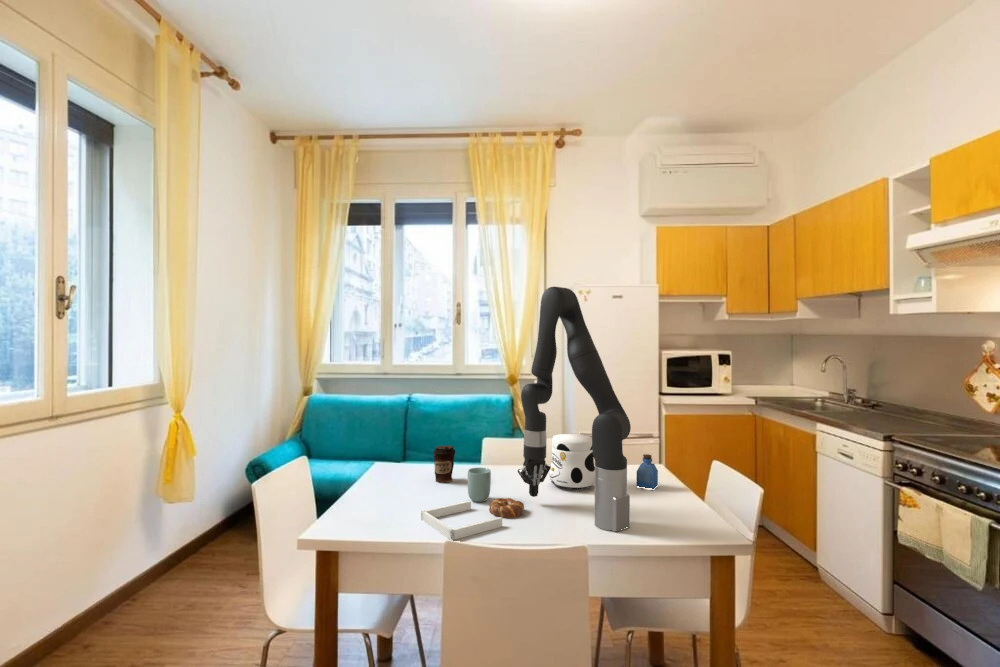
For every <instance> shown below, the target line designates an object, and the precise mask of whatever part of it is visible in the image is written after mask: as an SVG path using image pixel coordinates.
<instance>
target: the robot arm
mask: <svg viewBox="0 0 1000 667" xmlns="http://www.w3.org/2000/svg"><path fill="white" fill-rule="evenodd" d="M539 308H540V309H539V319H538V320H539V321H538V322H539V323H538V332H537V341H536V346H535V347H536V348H535V352H534V357H533V362H532V365H531V371H530V372H531V374H532V376H534V377H536V382H534V383H526V384H525V385H523V387H522V390H521V392H520V400H521V405H522V409H523V413H524V434H523V452H522V453H523V459H524V461H523V463H522V464H523V465H522V467H521V468H518V470H517V473H518V474H519V476H520V478H521V479H522V481H523V483H525V484H526V485H528V487H529V488H528V489H529V490H528V494H529V496H530V497H533V498H534V497H535V498H536V497H538V495H539V488H540V487H539V485H540V484H541V483H543V482H545V479H546V477H547V475H548V474H549V470H550V468H551V467H550V465H548V464H547V463H546V458H547V441H548V440H547V439H548V437H547V415H546V413H545V412H542V411H540V408H539V405H544V404H547V403H548V402H549V401H550V400H551V398H552V395H553V372H554V369H555V368H554V367H555V364H556V359H557V355H558V354H557V352H558V351H557V350H558V348H557V342H556V341H557V340H556V339H557V338H556V329H557V324H558V321H559V319H560V321H561V322H562V326H563V327H564V330H565V333H566V350H567V351H566V352H567V357H568V361H569V362H568V363H570V366H571V369H572V371H573V374H574V376H575V378H576V379H577V381H578V382H579V383H580V385H581V386H582V388H584V390H585V391H586V392H587V394H588V395H589V396H590V398H591V399H592V401H593V402H594V405H595V407H596V409H597V411H598V412H597V413H598V414H597V415H596V417H595V418H594V420H593V421H592V425H591V426H592V428H591V437H592V451H593V456H594V466H595V483H594V525H595V526H596V527H597V528H598V529H601V530H605V531H610V530H612V532H614V531H618V532H620V531H619V530H621V529H624V528H626V527H629V526H630V525H631V524H630V523H631V522H630V520H631V519H630V518H631V514H630V513H631V511H630V510H631V508H630V507H631V505H630V502H631V496H630V493H629V494H628V492H627V491H628V459H627V457H626V456H625V454H624V453H623V441H624V440H626V439H627V438H628V437H629V435H630V434H631V429H632V428H631V427H632V426H631V422H630V419H629V417H628V414H627V413H626V411H625V409H624V408H623V406H622V404H621V402H620V400H619V399H618V397H617V394H616V393H615V391H614V388H613V385H612V384H611V381H610V378H609V376H608V374H607V371H606V369H605V366H604V363H603V360H602V357H601V356H600V354H599V351H598V350H597V348H596V344H595V343H594V340H593V338H592V336H591V332H590V330H589V329H588V326H587V324H586V320H585V318H584V315H583V312H582V308H581V306H580V302H579V300H578V297H577V295H576V293H575V292H574V291H573V290H572V289H570V288H567V287H561V286H550V287H547V288H546V289H545V290H544V291H543V293H542V296H541V299H540V307H539ZM629 528H630V527H629ZM624 530H625V529H624ZM621 531H622V530H621Z"/></svg>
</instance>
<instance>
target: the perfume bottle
mask: <svg viewBox="0 0 1000 667" xmlns="http://www.w3.org/2000/svg"><path fill="white" fill-rule="evenodd" d="M642 456H643V457H642V463H640V464H639V466H638V468H637V470H636V485H635V486H639V487H645V488H652V489H654V488H655V487H656V486H657V485H659V479H658V478H659V471H658V468H657V467H656V464H655V463H653V458H652V456H653V455H652V454H648V453H647V454H645V453H644V454H643V455H642Z"/></svg>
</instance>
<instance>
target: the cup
mask: <svg viewBox="0 0 1000 667" xmlns="http://www.w3.org/2000/svg"><path fill="white" fill-rule="evenodd" d="M491 482H492V472H491V469H489V468H486V467H472V468H469V469H467V494H468V497H469V499H470V501H471V502H475V503H482V502H485V501H487V500H488V499H489V497H490V494H491V488H492V487H491V486H492V485H491V484H492V483H491Z"/></svg>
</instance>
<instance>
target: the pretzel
mask: <svg viewBox="0 0 1000 667" xmlns="http://www.w3.org/2000/svg"><path fill="white" fill-rule="evenodd" d="M524 509H525V505H524V503H523V502H522V501H520V500H515V499H513V498H511V497H506V498H505V497H497V498H496V499H494V500H492V501H491V502H490V504H489V508H488V510H489V513H490V514H491V515H493V516H495V518H498V517H502V518H504V519H512V518H518V517H521V516H523V514H524Z"/></svg>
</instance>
